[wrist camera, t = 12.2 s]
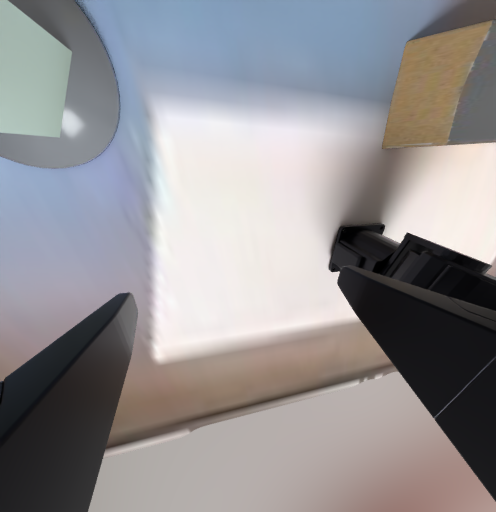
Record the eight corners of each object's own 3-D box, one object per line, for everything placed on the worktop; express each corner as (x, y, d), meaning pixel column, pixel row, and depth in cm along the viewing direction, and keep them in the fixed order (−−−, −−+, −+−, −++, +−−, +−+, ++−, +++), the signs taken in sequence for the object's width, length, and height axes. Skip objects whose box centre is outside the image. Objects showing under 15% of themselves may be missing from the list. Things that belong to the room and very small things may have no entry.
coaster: (88, -45, 11) (83, -54, 10) (136, 168, 16) (134, 169, 16) (-201, -108, 9) (-226, -124, 8) (-35, 167, 14) (-43, 168, 13)
